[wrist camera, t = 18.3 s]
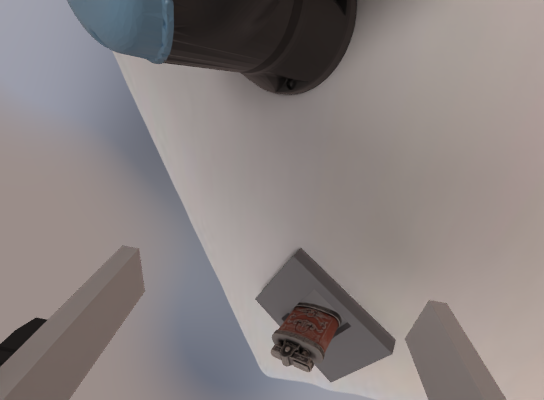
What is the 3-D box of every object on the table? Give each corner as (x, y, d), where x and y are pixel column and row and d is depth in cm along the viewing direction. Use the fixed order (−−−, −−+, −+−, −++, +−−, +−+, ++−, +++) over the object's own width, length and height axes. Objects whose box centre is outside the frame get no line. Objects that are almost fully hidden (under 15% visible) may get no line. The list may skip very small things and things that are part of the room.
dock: (263, 290, 48) (255, 298, 46) (300, 248, 40) (293, 255, 38) (336, 369, 43) (330, 382, 41) (395, 340, 35) (392, 353, 33)
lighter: (297, 315, 44) (264, 361, 36) (294, 298, 43) (260, 341, 35) (342, 329, 39) (316, 385, 31) (340, 310, 38) (312, 363, 31)
